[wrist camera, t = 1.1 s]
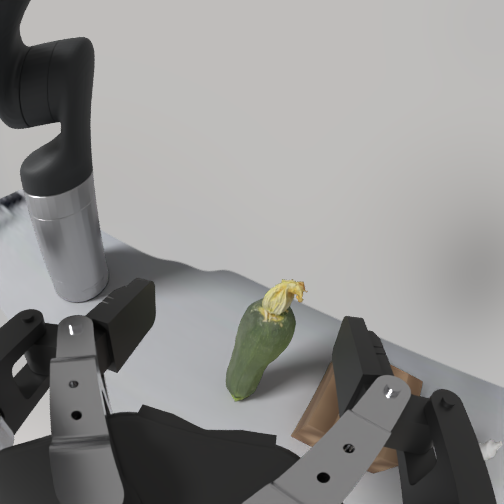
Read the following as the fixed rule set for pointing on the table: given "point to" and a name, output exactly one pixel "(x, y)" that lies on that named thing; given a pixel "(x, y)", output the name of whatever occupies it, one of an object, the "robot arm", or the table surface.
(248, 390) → the vegetable
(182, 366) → the table surface
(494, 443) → the eye dropper bottle
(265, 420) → the table surface
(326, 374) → the socket
